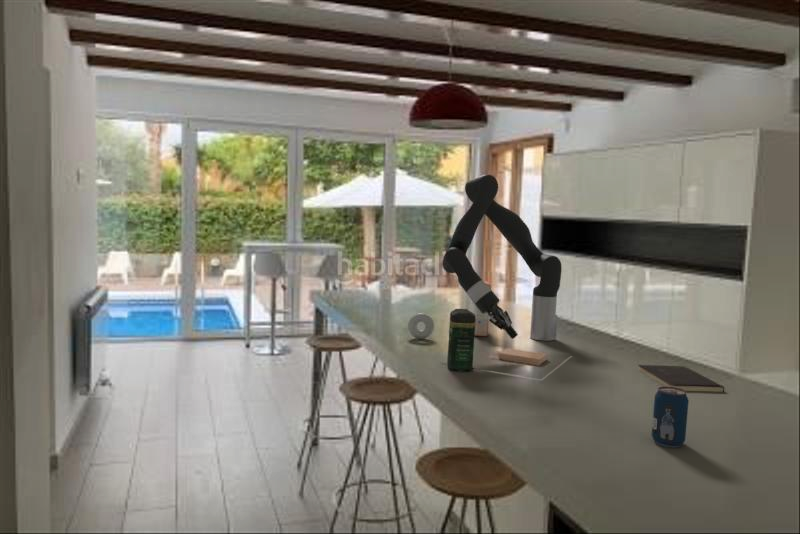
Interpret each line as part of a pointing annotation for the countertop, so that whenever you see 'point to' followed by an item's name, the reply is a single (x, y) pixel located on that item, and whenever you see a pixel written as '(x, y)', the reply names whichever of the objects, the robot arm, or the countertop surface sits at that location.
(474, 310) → the cracker box
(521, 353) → the tile
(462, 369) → the coffee jar
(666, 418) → the soda can
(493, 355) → the board
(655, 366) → the hardcover book
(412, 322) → the donut
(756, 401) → the countertop surface
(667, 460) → the countertop surface
